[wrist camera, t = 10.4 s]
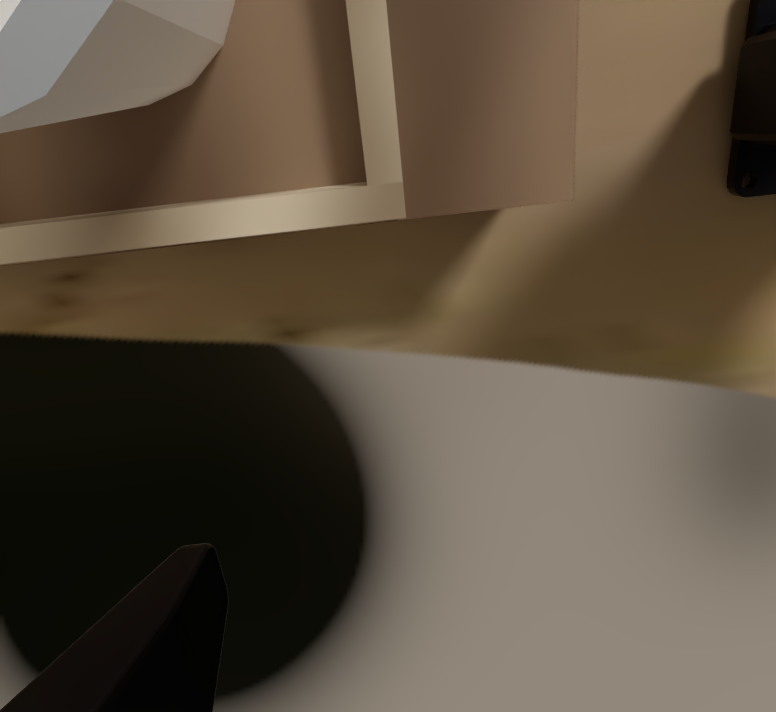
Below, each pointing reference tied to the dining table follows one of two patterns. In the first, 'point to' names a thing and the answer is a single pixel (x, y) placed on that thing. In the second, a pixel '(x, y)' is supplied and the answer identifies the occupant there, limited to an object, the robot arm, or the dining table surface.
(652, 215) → the dining table surface
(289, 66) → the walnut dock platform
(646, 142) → the dining table surface
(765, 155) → the robot arm
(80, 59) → the shot glass
